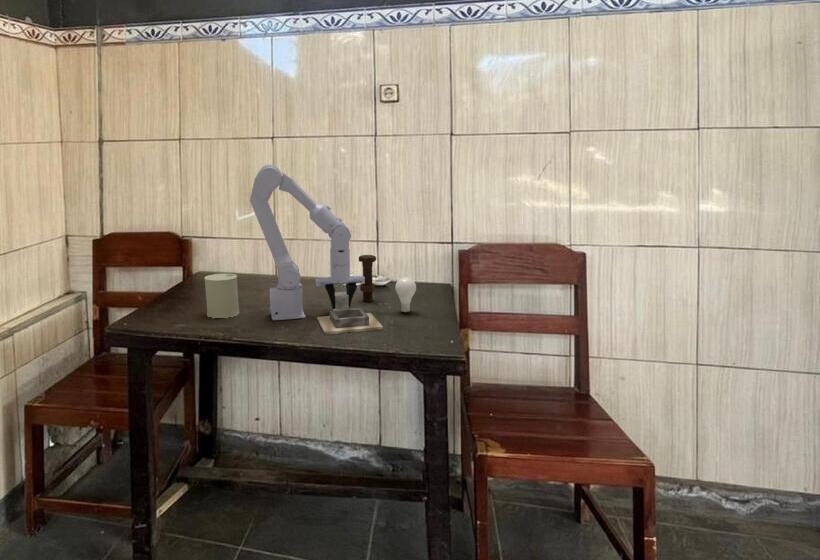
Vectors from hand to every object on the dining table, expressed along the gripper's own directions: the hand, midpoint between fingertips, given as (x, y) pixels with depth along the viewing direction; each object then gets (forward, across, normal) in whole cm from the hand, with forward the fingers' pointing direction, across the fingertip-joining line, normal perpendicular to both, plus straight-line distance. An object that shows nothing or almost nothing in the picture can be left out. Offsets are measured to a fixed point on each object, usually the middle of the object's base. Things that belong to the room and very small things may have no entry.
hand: (340, 307), depth 163 cm
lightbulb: (+2, +19, -5) cm, 20 cm away
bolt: (+2, +11, +11) cm, 16 cm away
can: (+2, -34, +8) cm, 35 cm away
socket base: (+2, 0, -12) cm, 12 cm away
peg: (+2, 0, 0) cm, 2 cm away
